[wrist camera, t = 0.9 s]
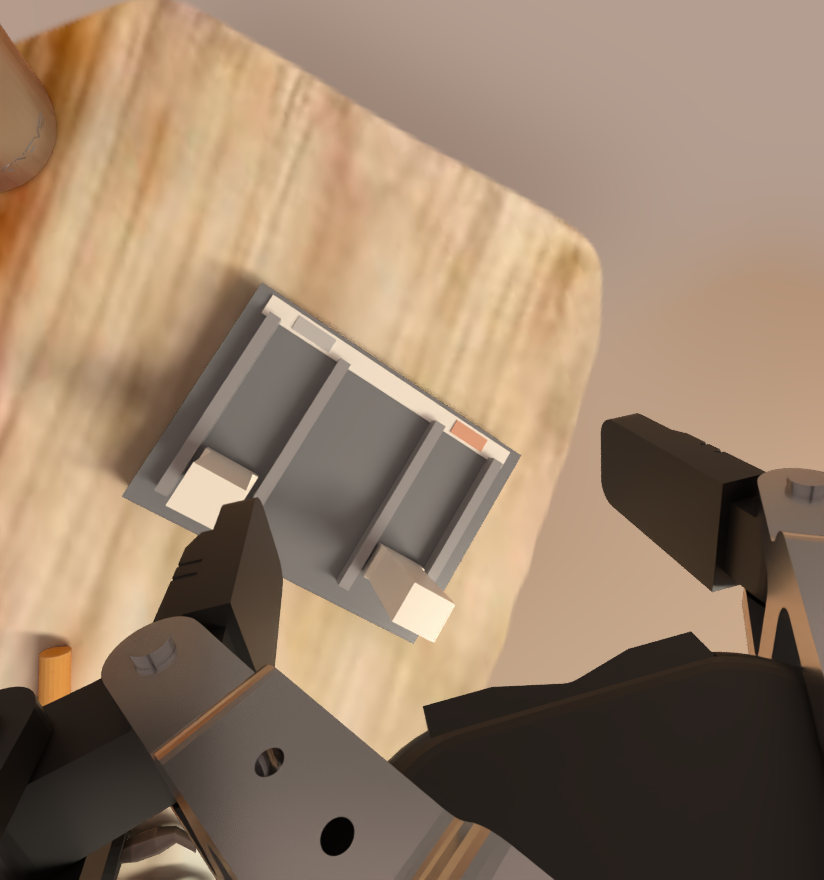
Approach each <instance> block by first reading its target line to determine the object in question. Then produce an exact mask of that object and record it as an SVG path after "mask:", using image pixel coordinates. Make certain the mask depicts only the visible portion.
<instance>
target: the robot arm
mask: <svg viewBox="0 0 824 880" xmlns="http://www.w3.org/2000/svg"><path fill="white" fill-rule="evenodd" d="M55 139H56V118H55V114H54V110H53V105H52V103H51V100H50V98H49V96H48V94H47V92H46V90H45V88H44V86H43V85H42V84H41V82H40V81H39V79H38V78H37V76H36V75H35V74H34V72H33V71H32V69H31V68H30V66H29V65H28V64H27V62H26V61H25V59H24V58H23V56H22V55H21V54H20V52H19V51H18V49H17V48H16V46H15V45H14V44H13V42H12V41H11V39H10V38H9V36H8V35H7V33H6V32H5V30H4V29H3V28H2V26H1V25H0V192H5V191H8V190H10V189H13V188H16V187H19V186H21V185H23V184H24V183H26V182H27V181H29V180H30V179H32V178H33V177H35V176H36V175H37V173H38V172H39V171H40V170H41V169H42V168H43V167H44V166H45V165H46V163H47V161H48V159H49V157H50V155H51V154H52V151H53V147H54V143H55ZM601 482H602V487H603V491H604V494H605V496H606V498H607V500H608V502H609V503H610V504H611V505H612V506H613V507H614V508H615V509H616V510H617V511H618V512H620V513H621V514H622V515H623V516H625V518H627V519H628V520H629V521H630V522H631V523H633V524H634V525H635V526H636V527H637V528H638V529H639V530H641V531H642V532H643V533H644V534H645V535H646V536H648V537H649V538H650V539H651V540H652V541H653V542H655V543H656V544H657V545H658V546H659V547H661V548H662V549H663V550H664V551H665V552H666V553H667V554H669V555H670V556H671V557H672V558H673V559H674V560H676V561H677V562H678V563H679V564H680V565H681V566H683V567H684V568H685V569H686V570H687V571H688V572H689V573H691V574H692V575H693V576H694V577H695V578H696V579H698V580H699V581H700V582H701V583H702V584H703V585H705V586H706V587H707V588H708V589H709V590H710V591H712V592H715V591H718V590H722V589H725V588H730V587H733V586H737V585H741V586H742V587H744V591H743V599H742V608H743V615H744V622H745V630H746V638H747V646H748V653H749V654H741V653H730V652H711V651H710V650H709V649H708V648H707V647H706V646H705V645H704V644H703V643H702V642H701V641H700V640H699V639H698V638H697V637H696V636H695V635H694V634H693V633H692V632H687V633H684V634H680V635H677V636H673V637H670V638H666V639H662V640H659V641H655V642H652V643H648V644H645V645H641V646H637V647H634V648H630V649H628V650H626V651H624V652H622V653H621V654H619V655H617V656H616V657H614V658H612V659H611V660H609V661H607V662H606V663H604V664H602V665H601V666H599V667H597V668H596V669H594V670H592V671H591V672H589V673H587V674H586V675H584V676H582V677H581V678H579V679H577V680H575V681H573V682H570V683H565V684H548V685H526V686H504V687H490V688H487V689H483V690H480V691H476V692H473V693H469V694H465V695H462V696H458V697H455V698H451V699H447V700H444V701H440V702H437V703H433V704H430V705H426V706H423V709H424V714H425V719H426V724H427V728H428V731H426V732H425V733H423V734H421V735H420V736H418V737H416V738H415V739H413V740H412V741H411V742H409V743H408V744H407V745H405V746H404V747H403V748H401V749H400V750H399V751H398V752H397V753H396V754H395V755H394V756H393V757H392V758H391V759H390V760H389V761H386V760H385V759H384V758H383V757H381V756H380V755H379V754H378V753H377V752H375V751H374V750H373V749H372V748H371V747H369V746H368V745H367V744H366V743H365V742H363V741H362V740H361V739H360V738H359V737H358V736H356V735H355V734H354V733H353V732H352V731H350V730H349V729H348V728H347V727H346V726H344V725H343V724H342V723H341V722H340V721H338V720H337V719H336V718H335V717H334V716H333V715H331V714H330V713H329V712H328V711H327V710H325V709H324V708H323V707H322V706H321V705H319V704H318V703H317V702H316V701H315V700H313V699H312V698H311V697H310V696H309V695H307V694H306V693H305V692H304V691H303V690H302V689H300V688H299V687H298V686H297V685H296V684H294V683H293V682H292V681H291V680H290V679H288V678H287V677H286V676H285V675H284V674H282V673H281V672H280V671H279V670H278V669H276V668H275V659H276V649H277V638H278V628H279V618H280V608H281V597H282V587H283V577H282V569H281V563H280V559H279V555H278V552H277V549H276V546H275V542H274V539H273V536H272V533H271V530H270V527H269V523H268V520H267V517H266V514H265V511H264V508H263V505H262V502H261V500H260V499H259V498H258V497H255V498H251V499H246V500H242V501H237V502H233V503H228V504H224V505H222V507H221V509H220V512H219V515H218V518H217V520H216V523H215V526H214V529H213V530H209V531H205V532H201V533H200V534H199V535H198V536H197V537H196V538H195V539H194V540H193V541H192V542H191V543H190V544H189V545H188V546H187V547H186V548H185V550H184V552H183V555H182V557H181V559H180V562H179V564H178V565H179V567H177V568H176V571H175V573H174V575H173V581H171V582H170V584H169V587H168V589H167V591H166V594H165V596H164V598H163V600H162V603H161V605H160V607H159V610H158V612H157V614H156V617H155V619H154V621H153V623H151V624H149V625H147V626H145V627H143V628H141V629H139V630H137V631H136V632H134V633H133V634H131V635H130V636H128V637H127V638H126V639H125V640H123V641H122V642H121V643H120V644H119V645H118V646H117V647H116V648H115V649H114V650H113V651H112V652H111V654H110V655H109V656H108V658H107V659H106V661H105V663H104V665H103V668H102V672H101V679H99V680H97V681H95V682H93V683H91V684H89V685H87V686H85V687H83V688H81V689H79V690H76V691H74V692H72V693H70V694H68V695H66V696H64V697H62V698H59V699H57V700H55V701H53V702H51V703H49V704H47V705H44V706H42V705H41V704H40V702H39V701H38V699H37V697H36V696H35V694H34V692H33V691H31V690H30V689H28V688H25V687H10V688H5V689H1V690H0V880H101V877H102V874H103V870H104V867H105V863H106V860H107V856H108V853H109V850H110V846H111V843H112V841H113V840H114V839H116V838H118V837H119V836H121V835H123V834H124V833H126V832H128V831H129V830H131V829H133V828H134V827H136V826H138V825H140V824H141V823H143V822H145V821H146V820H148V819H150V818H151V817H153V816H155V815H156V814H158V813H160V812H161V811H163V810H165V809H166V808H168V807H171V808H172V810H173V812H174V813H175V815H176V816H177V818H178V820H179V821H180V823H181V824H182V826H183V828H184V829H185V831H186V832H187V834H188V836H189V837H190V839H191V840H192V842H193V844H194V845H195V847H196V848H197V850H198V851H199V853H200V855H201V856H202V858H203V859H204V861H205V863H206V864H207V866H208V867H209V869H210V871H211V872H212V874H213V875H214V877H215V879H216V880H824V472H821V471H816V470H810V469H801V468H783V469H775V470H771V471H768V472H764V471H763V470H761V469H758V468H756V467H755V466H752V465H750V464H748V463H746V462H744V461H742V460H740V459H738V458H736V457H734V456H732V455H730V454H728V453H726V452H721V451H720V449H718V448H716V447H714V446H712V445H710V444H707V445H706V444H705V442H703V441H701V440H699V439H697V438H695V437H693V436H691V435H689V434H687V433H683V432H678V431H675V430H671V429H669V428H667V427H665V426H663V425H661V424H659V423H657V422H655V421H653V420H651V419H649V418H647V417H645V416H643V415H641V414H638V413H636V414H632V415H627V416H622V417H618V418H614V419H609V420H606V421H605V422H604V423H603V425H602V428H601Z"/></svg>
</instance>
